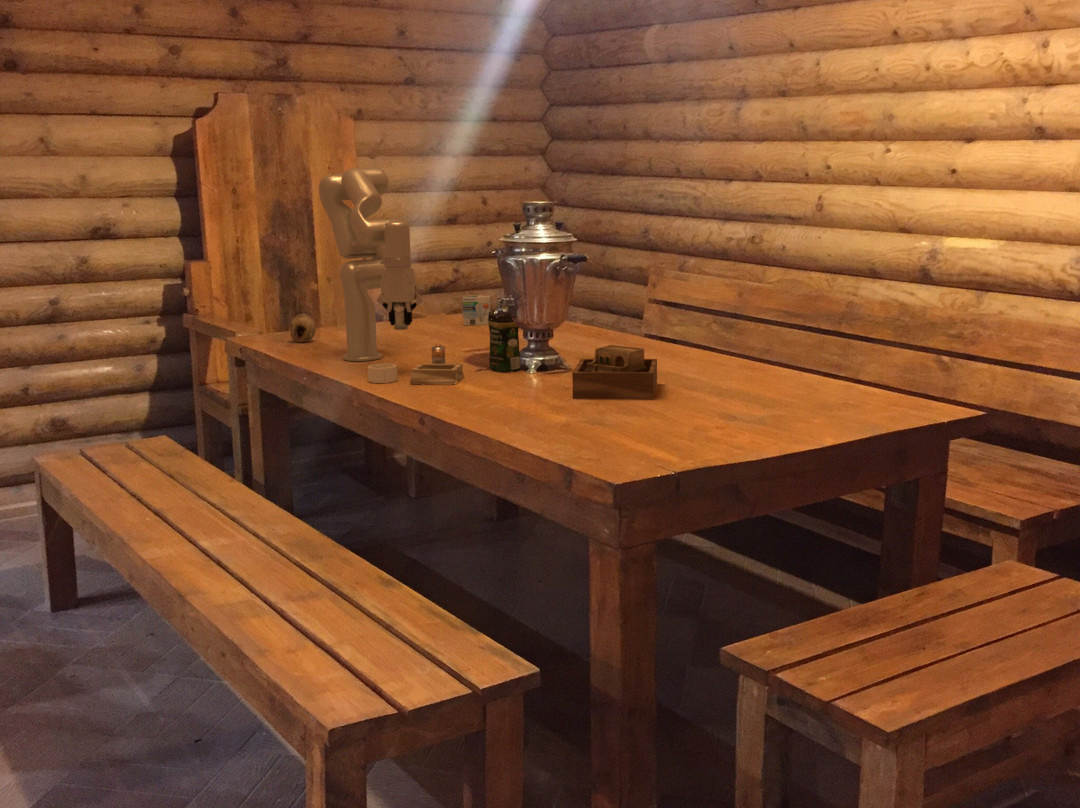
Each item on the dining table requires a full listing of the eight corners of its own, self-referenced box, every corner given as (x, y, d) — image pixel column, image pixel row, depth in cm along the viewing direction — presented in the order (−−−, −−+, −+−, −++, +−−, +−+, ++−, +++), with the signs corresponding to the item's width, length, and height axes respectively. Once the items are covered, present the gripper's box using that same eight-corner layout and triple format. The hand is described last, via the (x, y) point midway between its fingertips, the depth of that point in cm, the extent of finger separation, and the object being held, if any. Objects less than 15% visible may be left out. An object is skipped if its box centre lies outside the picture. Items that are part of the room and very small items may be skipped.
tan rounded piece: (288, 341, 411) (286, 313, 409) (312, 339, 414) (310, 311, 412) (295, 345, 403) (293, 316, 400) (319, 342, 406) (317, 314, 404)
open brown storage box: (581, 382, 327) (580, 358, 326) (656, 383, 324) (656, 359, 323) (572, 398, 308) (572, 372, 306) (653, 399, 305) (653, 373, 303)
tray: (420, 376, 342) (419, 363, 341) (463, 376, 340) (462, 363, 339) (410, 384, 331) (409, 370, 330) (454, 384, 329) (454, 371, 328)
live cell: (434, 371, 349) (432, 343, 347) (447, 372, 348) (446, 343, 346) (430, 374, 345) (429, 345, 343) (444, 374, 344) (443, 345, 342)
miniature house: (608, 383, 327) (607, 343, 325) (649, 388, 319) (649, 347, 316) (576, 392, 316) (575, 351, 313) (618, 398, 307) (617, 356, 305)
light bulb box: (463, 325, 437) (462, 297, 435) (462, 323, 444) (461, 295, 442) (491, 324, 438) (490, 296, 436) (490, 322, 445) (489, 294, 442)
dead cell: (396, 327, 347) (394, 298, 345) (409, 327, 347) (408, 298, 345) (392, 329, 343) (391, 300, 342) (405, 329, 343) (404, 300, 341)
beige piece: (373, 378, 341) (372, 363, 340) (399, 378, 340) (399, 363, 339) (365, 383, 334) (364, 368, 333) (392, 383, 332) (391, 368, 331)
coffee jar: (485, 369, 351) (483, 308, 347) (506, 366, 355) (504, 306, 351) (503, 373, 343) (501, 311, 339) (525, 370, 348) (523, 309, 344)
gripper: (367, 264, 338) (370, 326, 343) (422, 264, 336) (425, 327, 340) (374, 262, 346) (377, 322, 350) (428, 262, 343) (431, 323, 347)
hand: (400, 324), depth 345 cm, fingers closed on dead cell, 4 cm apart
